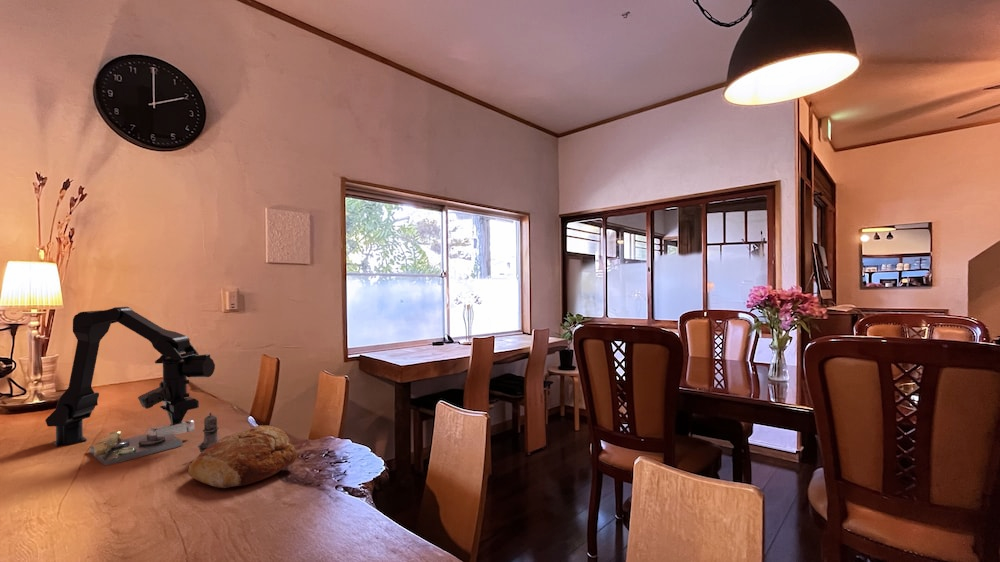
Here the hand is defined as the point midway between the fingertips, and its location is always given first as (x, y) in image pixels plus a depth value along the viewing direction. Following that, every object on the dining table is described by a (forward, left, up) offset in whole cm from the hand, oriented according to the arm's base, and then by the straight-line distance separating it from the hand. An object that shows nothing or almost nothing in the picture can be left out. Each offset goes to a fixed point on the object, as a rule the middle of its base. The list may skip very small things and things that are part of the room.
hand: (175, 429), depth 131 cm
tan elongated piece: (-3, -13, -2) cm, 14 cm away
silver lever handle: (+2, -6, -2) cm, 7 cm away
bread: (+41, +1, -4) cm, 41 cm away
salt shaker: (+24, +1, -3) cm, 24 cm away
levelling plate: (0, -9, -3) cm, 10 cm away
